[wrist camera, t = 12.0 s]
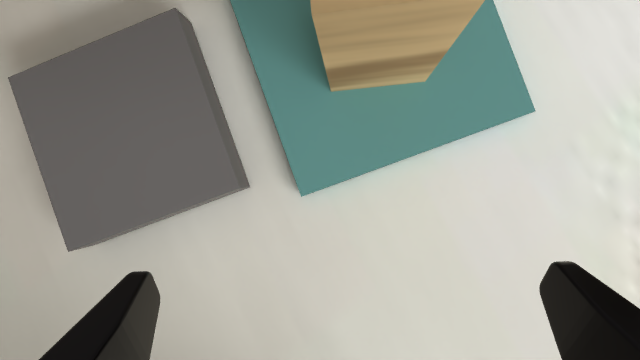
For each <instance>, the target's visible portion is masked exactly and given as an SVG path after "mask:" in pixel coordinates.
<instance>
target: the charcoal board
mask: <svg viewBox="0 0 640 360" xmlns="http://www.w3.org/2000/svg"><path fill="white" fill-rule="evenodd" d="M8 79H9V82H10V85H11V88H12V90H13V93H14V96H15V99H16V102H17V105H18V108H19V111H20V114H21V117H22V119H23V122H24V125H25V128H26V131H27V134H28V137H29V140H30V143H31V146H32V148H33V151H34V154H35V157H36V160H37V163H38V166H39V169H40V172H41V175H42V178H43V180H44V183H45V186H46V189H47V192H48V195H49V198H50V201H51V204H52V207H53V209H54V212H55V215H56V218H57V221H58V224H59V227H60V230H61V233H62V236H63V238H64V241H65V244H66V247H67V250H68V252H69V251H73V250H77V249H81V248H85V247H89V246H93V245H95V244H98V243H101V242H104V241H106V240H109V239H112V238H114V237H117V236H120V235H122V234H125V233H128V232H131V231H133V230H136V229H139V228H141V227H144V226H147V225H149V224H152V223H155V222H157V221H160V220H163V219H166V218H168V217H171V216H174V215H176V214H179V213H182V212H184V211H187V210H190V209H192V208H195V207H198V206H201V205H203V204H206V203H209V202H211V201H214V200H217V199H219V198H222V197H225V196H227V195H230V194H233V193H236V192H238V191H241V190H244V189H246V188H249V187H250V185H249V183H248V180H247V177H246V174H245V171H244V169H243V166H242V163H241V160H240V158H239V155H238V152H237V149H236V146H235V144H234V141H233V138H232V135H231V133H230V130H229V127H228V124H227V121H226V119H225V116H224V113H223V110H222V107H221V105H220V102H219V99H218V96H217V94H216V91H215V88H214V85H213V82H212V80H211V77H210V74H209V71H208V69H207V66H206V63H205V60H204V57H203V55H202V52H201V49H200V46H199V43H198V41H197V38H196V35H195V32H194V30H193V27H192V24H191V22H190V21H189V20H188V19H187V18H185V17H184V16H183V15H182V14H181V13H180V12H179V11H178V10H177V9H176V8H173V9H171V10H169V11H166V12H164V13H162V14H159V15H157V16H154V17H152V18H150V19H147V20H145V21H142V22H140V23H138V24H135V25H133V26H130V27H128V28H126V29H123V30H121V31H118V32H116V33H114V34H111V35H109V36H106V37H104V38H102V39H99V40H97V41H94V42H92V43H90V44H87V45H85V46H82V47H80V48H78V49H75V50H73V51H71V52H68V53H66V54H63V55H61V56H59V57H56V58H54V59H51V60H49V61H47V62H44V63H42V64H39V65H37V66H35V67H32V68H30V69H27V70H25V71H23V72H20V73H18V74H15V75H13V76H11V77H8Z"/></svg>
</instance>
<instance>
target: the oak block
mask: <svg viewBox="0 0 640 360" xmlns="http://www.w3.org/2000/svg"><path fill="white" fill-rule="evenodd" d="M484 1H485V0H310V2H311V13H312V18H313V22H314V26H315V30H316V34H317V38H318V42H319V46H320V50H321V54H322V58H323V62H324V66H325V69H326V73H327V77H328V81H329V85H330V89H331V92H333V91H342V90H351V89H361V88H370V87H380V86H389V85H398V84H408V83H417V82H425V81H426V80H427V78H428V77H429V76H430V74H431V73H432V72H433V70H434V69H435V67H436V66H437V65H438V63H439V62H440V61H441V59H442V58H443V57H444V55H445V54H446V53H447V51H448V50H449V48H450V47H451V46H452V44H453V43H454V42H455V40H456V39H457V38H458V36H459V35H460V34H461V32H462V31H463V30H464V28H465V27H466V25H467V24H468V23H469V21H470V20H471V19H472V17H473V16H474V15H475V13H476V12H477V11H478V9H479V8H480V6H481V5H482V4H483V2H484Z"/></svg>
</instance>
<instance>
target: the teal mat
mask: <svg viewBox="0 0 640 360" xmlns="http://www.w3.org/2000/svg"><path fill="white" fill-rule="evenodd" d="M230 1H231V4H232V7H233V10H234V12H235V15H236V18H237V21H238V24H239V26H240V29H241V32H242V35H243V37H244V40H245V43H246V46H247V48H248V51H249V54H250V57H251V59H252V62H253V65H254V68H255V70H256V73H257V76H258V79H259V81H260V84H261V87H262V90H263V92H264V95H265V98H266V101H267V103H268V106H269V109H270V112H271V114H272V117H273V120H274V123H275V125H276V128H277V131H278V134H279V136H280V139H281V142H282V145H283V148H284V150H285V153H286V156H287V159H288V161H289V164H290V167H291V170H292V172H293V175H294V178H295V181H296V183H297V186H298V189H299V192H300V194H301V197H302V196H304V195H307V194H310V193H313V192H315V191H318V190H321V189H324V188H326V187H329V186H332V185H335V184H337V183H340V182H343V181H346V180H348V179H351V178H354V177H357V176H359V175H362V174H365V173H367V172H370V171H373V170H376V169H378V168H381V167H384V166H387V165H389V164H392V163H395V162H398V161H400V160H403V159H406V158H409V157H411V156H414V155H417V154H420V153H422V152H425V151H428V150H430V149H433V148H436V147H439V146H441V145H444V144H447V143H450V142H452V141H455V140H458V139H461V138H463V137H466V136H469V135H472V134H474V133H477V132H480V131H483V130H485V129H488V128H491V127H494V126H496V125H499V124H502V123H504V122H507V121H510V120H513V119H515V118H518V117H521V116H524V115H526V114H529V113H532V112H534V111H535V109H534V106H533V103H532V101H531V98H530V96H529V93H528V90H527V88H526V85H525V83H524V80H523V77H522V75H521V72H520V69H519V67H518V64H517V62H516V59H515V56H514V54H513V51H512V49H511V46H510V43H509V41H508V38H507V35H506V33H505V30H504V28H503V25H502V22H501V20H500V17H499V15H498V12H497V9H496V7H495V4H494V1H493V0H485V1H484V2H483V4H482V5H481V6H480V8H479V9H478V11H477V12H476V13H475V15H474V16H473V17H472V19H471V20H470V21H469V23H468V24H467V25H466V27H465V28H464V30H463V31H462V32H461V34H460V35H459V36H458V38H457V39H456V40H455V42H454V43H453V44H452V46H451V47H450V48H449V50H448V51H447V53H446V54H445V55H444V57H443V58H442V59H441V61H440V62H439V63H438V65H437V66H436V67H435V69H434V70H433V72H432V73H431V74H430V76H429V77H428V78H427V80H426V81H425V82H417V83H408V84H398V85H389V86H380V87H370V88H361V89H351V90H342V91H333V92H331V89H330V85H329V81H328V77H327V73H326V69H325V66H324V62H323V58H322V54H321V50H320V46H319V42H318V38H317V34H316V30H315V26H314V22H313V18H312V13H311V2H310V0H230Z"/></svg>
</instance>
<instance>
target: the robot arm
mask: <svg viewBox="0 0 640 360" xmlns="http://www.w3.org/2000/svg"><path fill="white" fill-rule="evenodd" d="M540 295H541V299H542V302H543V305H544V308H545V311H546V314H547V317H548V320H549V323H550V326H551V329H552V332H553V335H554V338H555V341H556V344H557V347H558V350H559V352H560V355H561V358H562V360H640V309H639V308H638V307H636V306H635V305H634V304H632V303H631V302H629V301H628V300H626V299H625V298H624V297H622V296H621V295H619V294H618V293H617V292H615V291H614V290H612V289H611V288H610V287H608V286H607V285H605V284H604V283H603V282H601V281H600V280H598V279H597V278H595V277H594V276H593V275H591V274H590V273H588V272H587V271H586V270H584V269H583V268H581V267H580V266H579V265H577V264H575V263H573V262H569V261H563V262H553V263H552V264H551V265H550V266H549V268H548V270H547V272H546V274H545V276H544V278H543V279H542V281H541V283H540ZM159 306H160V294H159V291H158V288H157V286H156V284H155V281H154V279H153V276H152V274H151V273H150V272H147V271H143V272H131V273H129V274H128V275H126V276H125V277H124V278H123V279H122V280H121V281H120V282H119V283H118V284H117V285H116V286H115V287H114V288H113V289H112V290H111V291H110V292H109V293H108V294H107V295H106V296H105V297H104V298H103V299H102V300H100V301H99V302H98V303H97V304H96V305H95V306H94V307H93V308H92V309H91V310H90V311H89V312H88V313H87V314H86V315H85V316H84V317H83V318H82V319H81V320H80V321H79V322H78V323H77V324H76V325H75V326H73V327H72V328H71V329H70V330H69V331H68V332H67V333H66V334H65V335H64V336H63V337H62V338H61V339H60V340H59V341H58V342H57V343H56V344H55V345H54V346H53V347H52V348H51V349H50V350H49V351H47V352H46V353H45V354H44V355H43V356H42V357H41V358H40V359H39V360H149V359H150V354H151V349H152V343H153V338H154V333H155V328H156V322H157V317H158V312H159Z"/></svg>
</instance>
